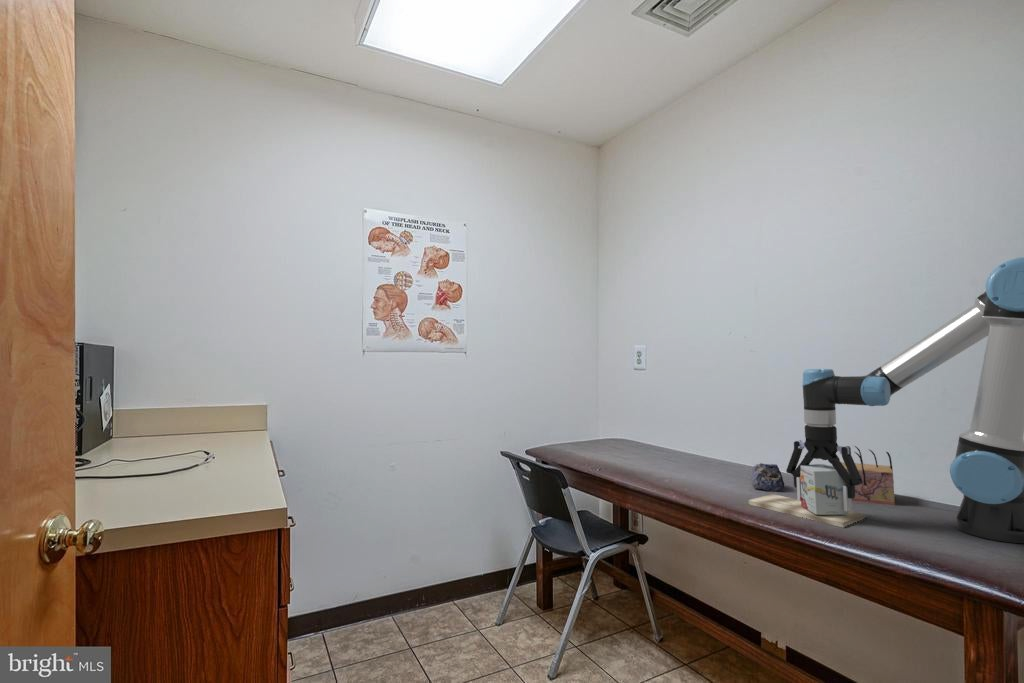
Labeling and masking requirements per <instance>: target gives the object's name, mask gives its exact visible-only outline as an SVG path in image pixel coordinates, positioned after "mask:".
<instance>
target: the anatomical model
mask: <svg viewBox="0 0 1024 683" xmlns="http://www.w3.org/2000/svg"><path fill="white" fill-rule="evenodd" d="M853 447H854V448H856V449H857V451H858V452H859V453H858V452H856V451H854V454H856V455H857V456H858V458H859V461H860V463H859V462H858V463H857V462H854V463H855V465H856V467H857V469H858V472H859V474H860V476H861V478H862V481H863V483H862V484H859V485H855V498H853V499H852V502H862V503H871V504H879V505H890V506H896V504H895V486H894V482H895V481H894V473H893V464H892V463H893V462H892V457H891V454H890V453H889V452H888V451H886V454H887V456H888V460H889V465H883V464H878V461H877V460H878V459H877V457H876V454H875V453H874V451H872V450H871V449H869V448H868V449H867V450H868V451H870V452H871V454H872V455H873V456H874V461H875V464H870V463H864V461H863V455H862V453H861V450H860V449H859V448H858V447H857V446H856V445H853ZM840 462H841V463H842V465H843V466H844V467H845V469H846V470H847V467H846V465H845V463H844V461H840ZM847 472H848V470H847ZM848 473H849V472H848Z"/></svg>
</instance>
